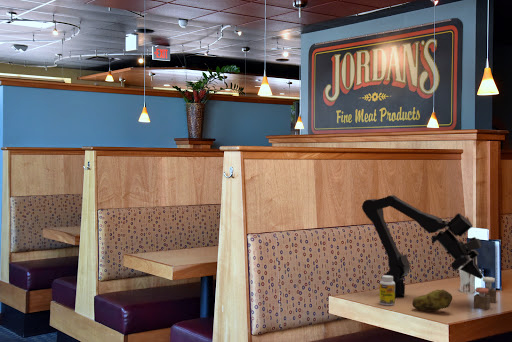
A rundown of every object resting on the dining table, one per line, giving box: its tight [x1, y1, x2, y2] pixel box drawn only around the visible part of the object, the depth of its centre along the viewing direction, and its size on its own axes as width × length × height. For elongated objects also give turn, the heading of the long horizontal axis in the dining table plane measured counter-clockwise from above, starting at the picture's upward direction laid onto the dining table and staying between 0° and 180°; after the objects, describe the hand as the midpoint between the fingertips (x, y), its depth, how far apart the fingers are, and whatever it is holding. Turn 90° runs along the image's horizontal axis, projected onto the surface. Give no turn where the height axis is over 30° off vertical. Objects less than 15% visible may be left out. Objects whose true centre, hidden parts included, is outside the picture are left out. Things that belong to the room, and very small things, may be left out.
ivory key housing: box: [485, 287, 497, 304], centre depth 234 cm, size 5×5×4 cm
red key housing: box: [473, 293, 491, 311], centre depth 223 cm, size 5×5×4 cm
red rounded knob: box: [475, 286, 488, 297], centre depth 223 cm, size 4×4×5 cm
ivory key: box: [482, 276, 496, 290], centre depth 234 cm, size 4×4×5 cm
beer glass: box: [458, 255, 478, 294], centre depth 251 cm, size 7×7×15 cm
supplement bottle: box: [378, 274, 396, 306], centre depth 227 cm, size 6×6×10 cm
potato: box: [412, 289, 453, 312], centre depth 217 cm, size 8×13×8 cm, turn 47°
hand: (482, 278), depth 224 cm, fingers closed
